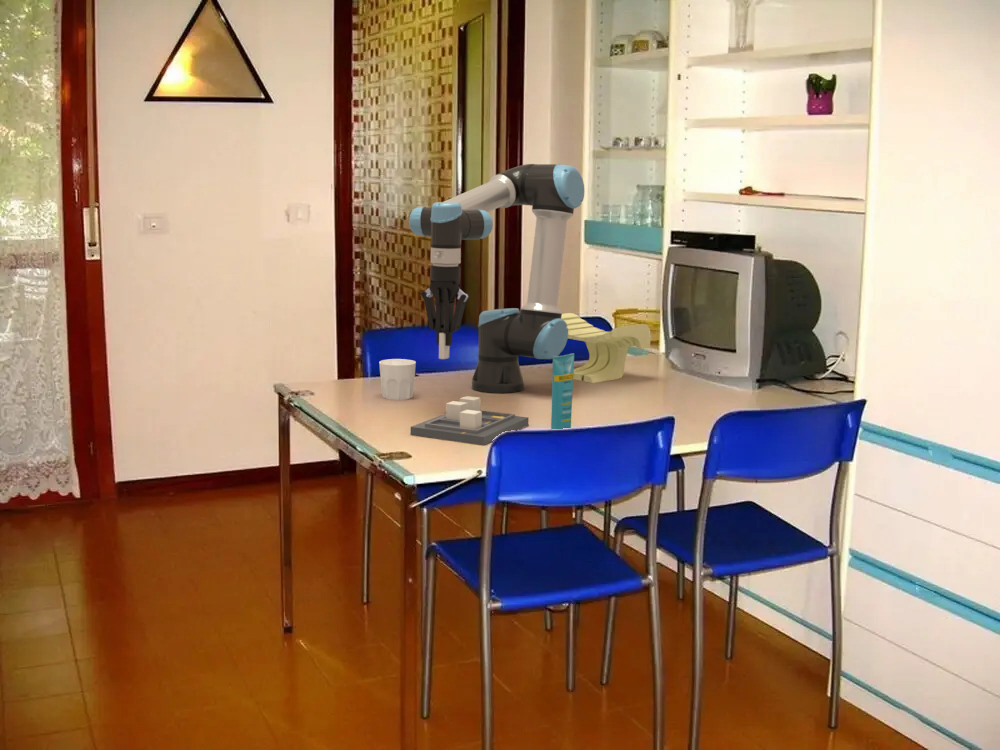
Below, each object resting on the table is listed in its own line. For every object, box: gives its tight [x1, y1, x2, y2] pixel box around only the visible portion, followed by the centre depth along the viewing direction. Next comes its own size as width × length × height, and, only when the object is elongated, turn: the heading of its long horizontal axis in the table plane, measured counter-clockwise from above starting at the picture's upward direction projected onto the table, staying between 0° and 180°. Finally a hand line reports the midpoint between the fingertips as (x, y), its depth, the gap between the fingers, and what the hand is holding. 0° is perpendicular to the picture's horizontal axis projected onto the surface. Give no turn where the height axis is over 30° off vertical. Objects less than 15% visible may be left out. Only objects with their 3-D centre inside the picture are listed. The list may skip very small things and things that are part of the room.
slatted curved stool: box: [561, 312, 652, 384], centre depth 360 cm, size 30×16×18 cm, turn 44°
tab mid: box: [445, 400, 467, 420], centre depth 290 cm, size 4×4×4 cm
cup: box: [378, 358, 417, 401], centre depth 325 cm, size 10×10×10 cm
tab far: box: [459, 395, 482, 411], centre depth 296 cm, size 4×4×4 cm
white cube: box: [460, 410, 482, 430], centre depth 280 cm, size 4×4×4 cm
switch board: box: [410, 409, 529, 446], centre depth 289 cm, size 20×24×3 cm
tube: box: [550, 353, 575, 430], centre depth 287 cm, size 7×5×19 cm, turn 139°
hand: (444, 358), depth 297 cm, fingers closed
